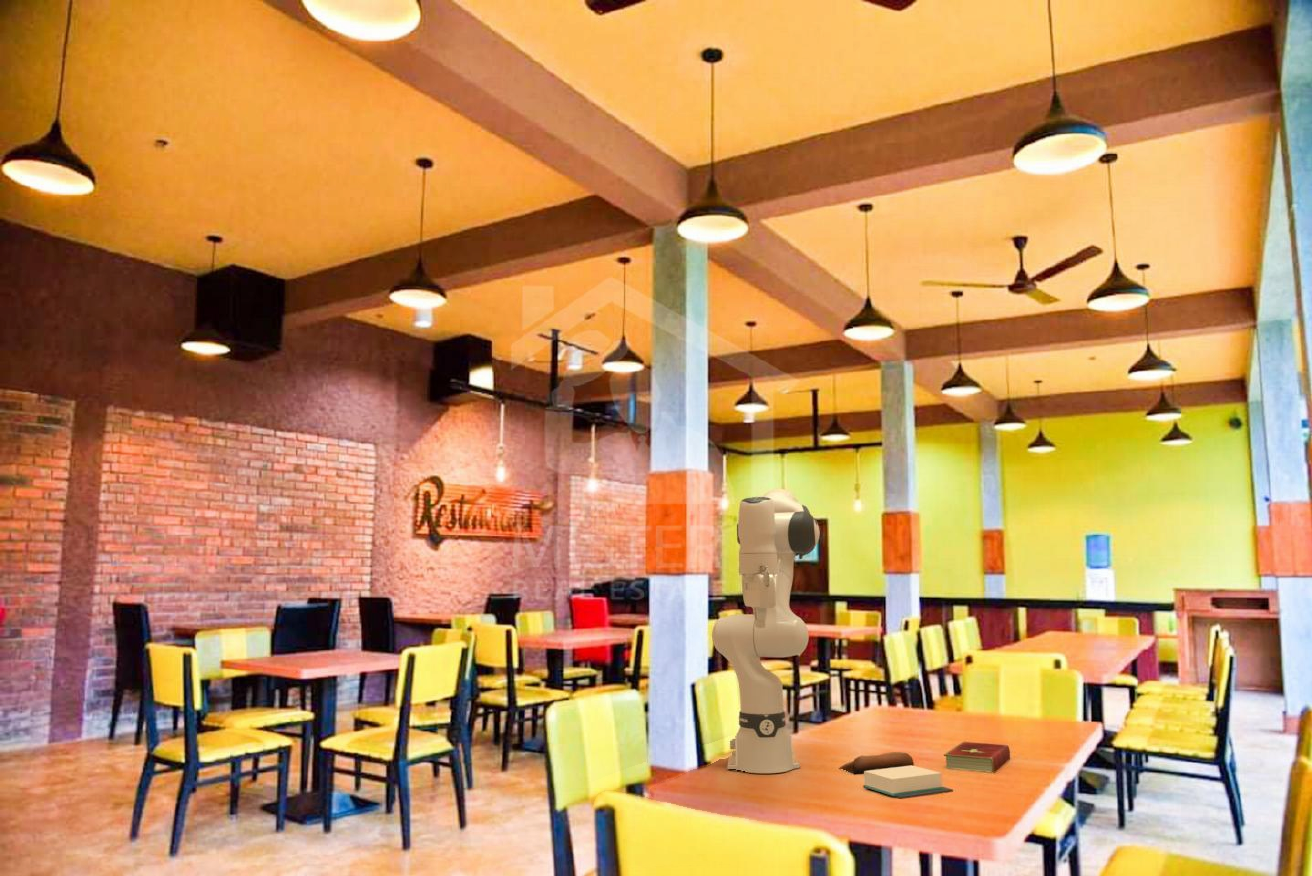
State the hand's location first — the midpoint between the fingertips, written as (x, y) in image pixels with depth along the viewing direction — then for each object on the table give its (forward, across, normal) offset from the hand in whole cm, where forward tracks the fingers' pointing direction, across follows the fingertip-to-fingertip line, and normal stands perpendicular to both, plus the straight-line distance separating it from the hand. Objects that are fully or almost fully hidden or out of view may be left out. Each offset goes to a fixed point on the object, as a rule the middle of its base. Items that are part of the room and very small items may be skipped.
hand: (760, 627), depth 206 cm
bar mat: (+37, +4, -34) cm, 50 cm away
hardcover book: (+38, +30, -62) cm, 79 cm away
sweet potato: (+38, +28, -34) cm, 58 cm away
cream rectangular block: (+35, +1, -26) cm, 44 cm away
